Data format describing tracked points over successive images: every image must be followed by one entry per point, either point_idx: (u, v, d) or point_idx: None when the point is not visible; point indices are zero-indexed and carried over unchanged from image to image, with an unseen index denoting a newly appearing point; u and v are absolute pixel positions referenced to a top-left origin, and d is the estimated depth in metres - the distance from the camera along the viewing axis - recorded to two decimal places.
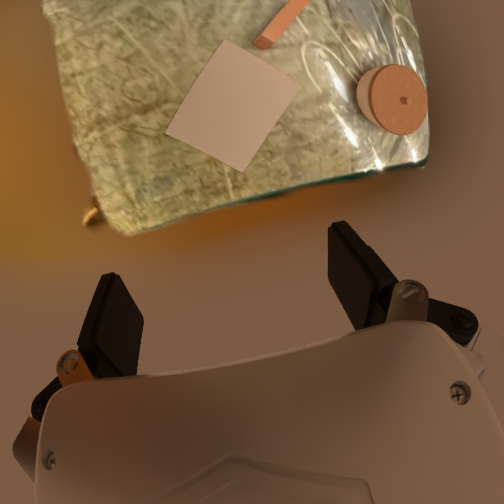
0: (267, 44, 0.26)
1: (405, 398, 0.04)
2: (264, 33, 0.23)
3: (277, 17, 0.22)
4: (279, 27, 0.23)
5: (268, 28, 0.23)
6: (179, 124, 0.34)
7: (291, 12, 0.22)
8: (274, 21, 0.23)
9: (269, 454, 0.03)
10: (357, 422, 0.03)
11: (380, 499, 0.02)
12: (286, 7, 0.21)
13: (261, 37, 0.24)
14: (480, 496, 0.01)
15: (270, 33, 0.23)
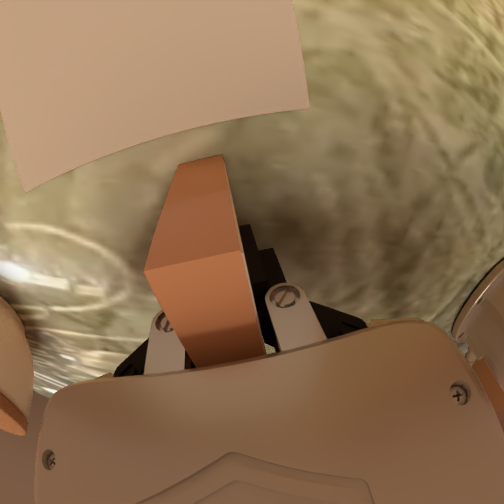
0: (174, 206, 0.07)
1: (405, 398, 0.04)
2: (234, 267, 0.05)
3: (258, 354, 0.07)
4: (209, 338, 0.06)
5: (243, 301, 0.05)
6: None
7: None
8: (252, 339, 0.06)
9: (269, 455, 0.03)
10: (357, 422, 0.03)
11: (380, 499, 0.02)
12: None
13: (223, 223, 0.06)
14: (480, 496, 0.01)
15: (210, 291, 0.05)
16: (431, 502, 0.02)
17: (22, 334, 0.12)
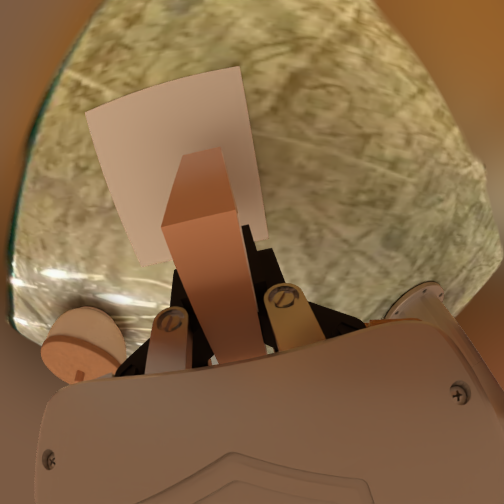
0: (182, 185, 0.08)
1: (405, 398, 0.04)
2: (231, 224, 0.06)
3: (250, 307, 0.08)
4: (210, 288, 0.07)
5: (238, 254, 0.07)
6: (228, 93, 0.18)
7: (232, 346, 0.09)
8: (245, 291, 0.08)
9: (269, 454, 0.03)
10: (357, 422, 0.03)
11: (380, 499, 0.02)
12: (258, 345, 0.09)
13: (222, 193, 0.07)
14: (480, 496, 0.01)
15: (212, 244, 0.07)
16: (431, 502, 0.02)
17: (120, 332, 0.29)
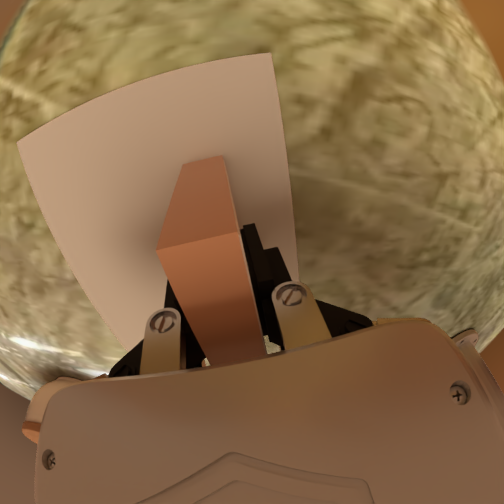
0: (180, 199, 0.08)
1: (405, 398, 0.04)
2: (233, 247, 0.06)
3: (254, 331, 0.07)
4: (211, 313, 0.07)
5: (240, 278, 0.06)
6: (250, 101, 0.10)
7: None
8: (249, 315, 0.07)
9: (268, 455, 0.03)
10: (357, 422, 0.03)
11: (380, 499, 0.02)
12: None
13: (223, 211, 0.07)
14: (480, 496, 0.01)
15: (212, 268, 0.06)
16: (431, 502, 0.02)
17: None
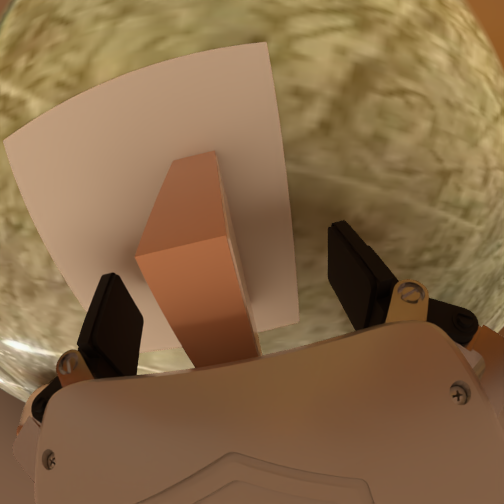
0: (166, 198, 0.07)
1: (405, 398, 0.04)
2: (221, 253, 0.05)
3: (248, 342, 0.07)
4: (199, 324, 0.06)
5: (231, 287, 0.06)
6: (244, 93, 0.09)
7: None
8: (241, 326, 0.06)
9: (268, 455, 0.03)
10: (357, 422, 0.03)
11: (380, 499, 0.02)
12: None
13: (212, 211, 0.06)
14: (480, 496, 0.01)
15: (198, 276, 0.05)
16: (431, 502, 0.02)
17: None
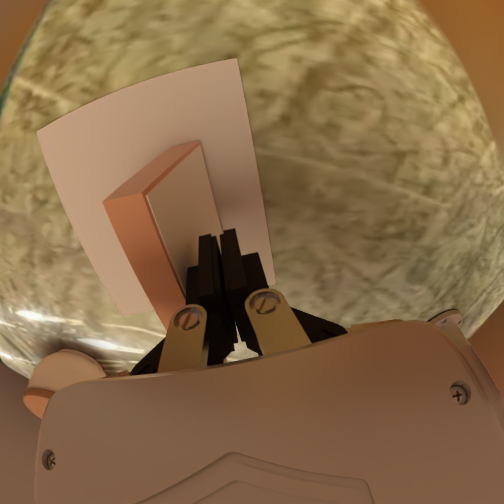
0: (140, 172, 0.11)
1: (405, 398, 0.04)
2: (141, 202, 0.09)
3: (168, 269, 0.10)
4: (137, 248, 0.10)
5: (149, 225, 0.09)
6: (221, 97, 0.13)
7: (163, 301, 0.11)
8: (160, 254, 0.10)
9: (269, 455, 0.03)
10: (357, 422, 0.03)
11: (380, 499, 0.02)
12: (183, 305, 0.11)
13: (149, 181, 0.09)
14: (480, 496, 0.01)
15: (132, 216, 0.09)
16: (431, 502, 0.02)
17: None
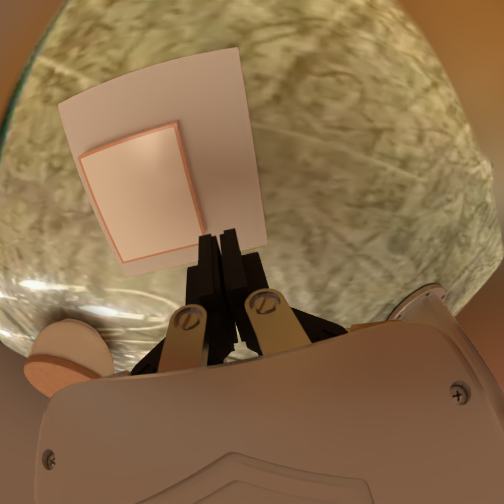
0: (117, 138, 0.16)
1: (405, 398, 0.04)
2: None
3: (93, 198, 0.16)
4: None
5: (84, 172, 0.15)
6: (224, 78, 0.15)
7: None
8: (90, 188, 0.16)
9: (269, 454, 0.03)
10: (357, 422, 0.03)
11: (380, 499, 0.02)
12: (103, 221, 0.17)
13: (92, 150, 0.14)
14: (480, 496, 0.01)
15: None
16: (431, 502, 0.02)
17: None
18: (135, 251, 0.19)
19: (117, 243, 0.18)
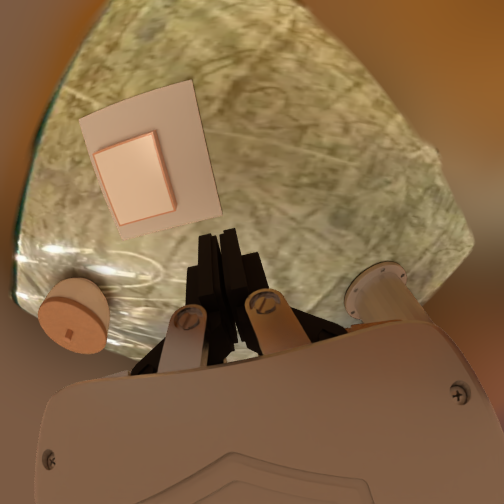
0: None
1: (405, 398, 0.04)
2: (94, 156, 0.23)
3: (102, 180, 0.25)
4: None
5: (96, 163, 0.24)
6: (183, 101, 0.24)
7: None
8: (99, 174, 0.25)
9: (268, 455, 0.03)
10: (357, 422, 0.03)
11: (380, 499, 0.02)
12: None
13: (101, 149, 0.23)
14: (480, 496, 0.01)
15: None
16: (431, 502, 0.02)
17: None
18: (128, 217, 0.28)
19: (116, 211, 0.27)
